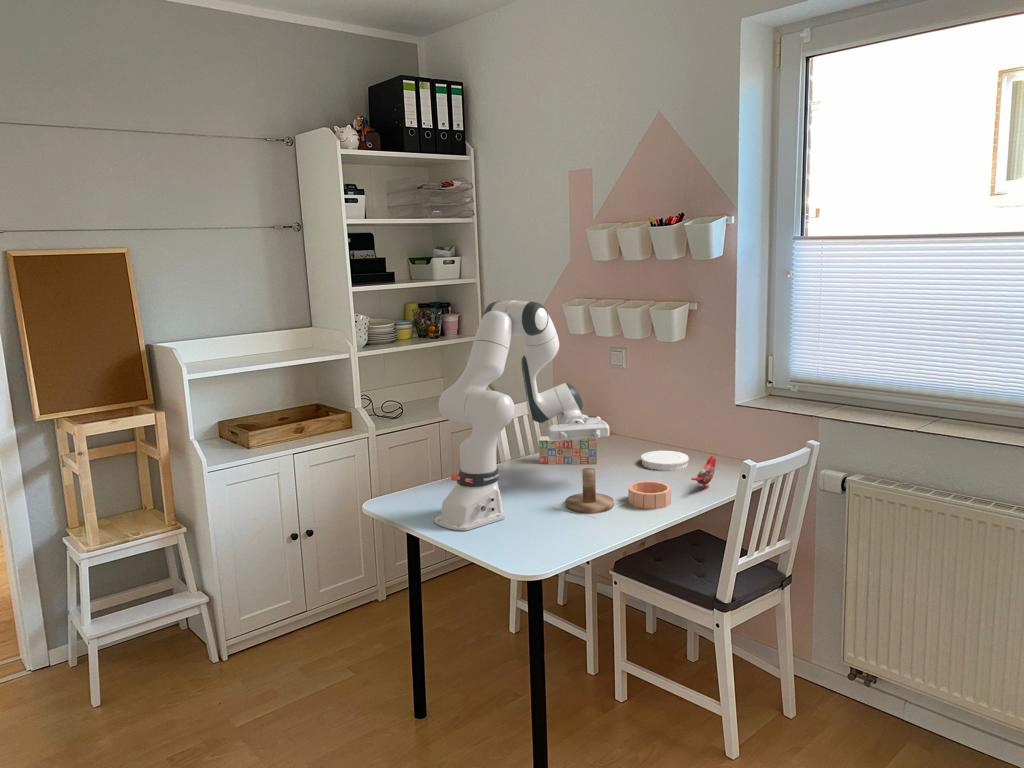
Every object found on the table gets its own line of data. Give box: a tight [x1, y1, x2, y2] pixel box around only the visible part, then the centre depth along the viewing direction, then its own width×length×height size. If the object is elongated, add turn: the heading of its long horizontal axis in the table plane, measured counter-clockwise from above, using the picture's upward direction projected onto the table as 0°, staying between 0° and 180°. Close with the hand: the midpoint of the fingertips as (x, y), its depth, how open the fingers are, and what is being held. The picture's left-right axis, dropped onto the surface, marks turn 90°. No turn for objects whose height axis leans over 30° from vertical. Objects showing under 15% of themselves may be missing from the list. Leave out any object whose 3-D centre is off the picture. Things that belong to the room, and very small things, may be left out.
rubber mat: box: [553, 500, 626, 519], centre depth 242 cm, size 16×16×1 cm
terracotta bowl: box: [627, 480, 672, 510], centre depth 243 cm, size 13×13×5 cm
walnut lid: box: [564, 467, 615, 514], centre depth 241 cm, size 15×15×12 cm
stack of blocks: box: [538, 435, 598, 465], centre depth 289 cm, size 21×6×12 cm, turn 83°
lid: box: [640, 450, 690, 471], centre depth 284 cm, size 17×20×3 cm
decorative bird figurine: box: [690, 455, 717, 490], centre depth 252 cm, size 3×18×10 cm, turn 141°
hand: (582, 437), depth 250 cm, fingers open, 8 cm apart
